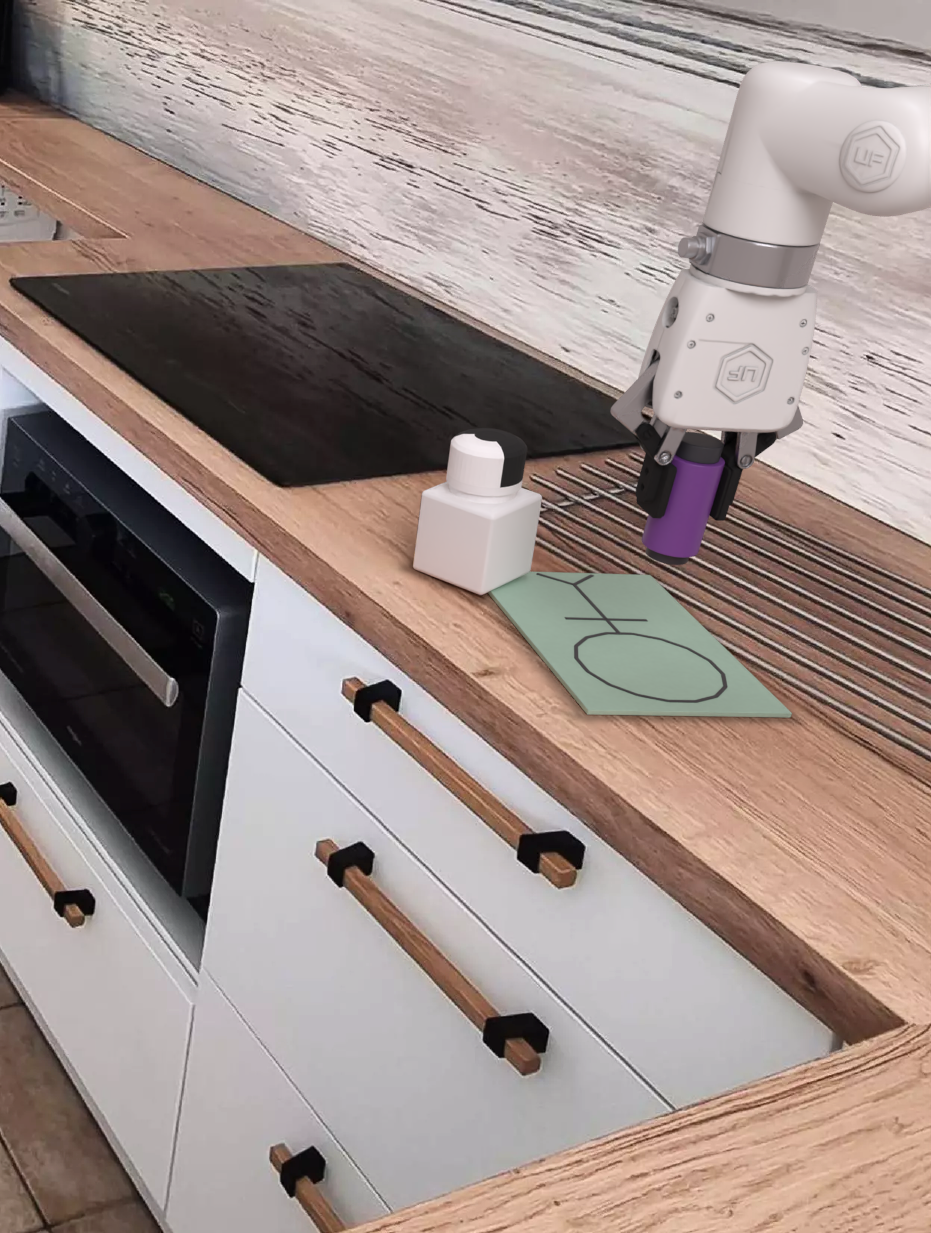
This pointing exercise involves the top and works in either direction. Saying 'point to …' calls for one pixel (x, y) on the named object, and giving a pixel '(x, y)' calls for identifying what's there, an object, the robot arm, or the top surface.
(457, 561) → the medicine bottle
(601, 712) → the sketch card
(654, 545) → the cylinder
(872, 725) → the top surface
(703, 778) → the top surface
